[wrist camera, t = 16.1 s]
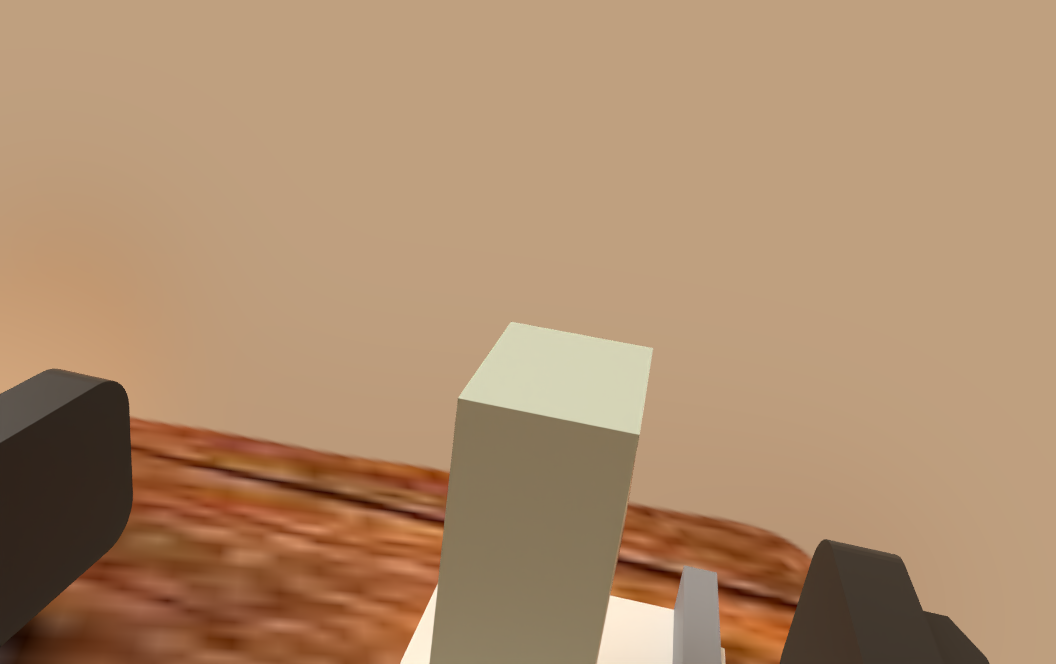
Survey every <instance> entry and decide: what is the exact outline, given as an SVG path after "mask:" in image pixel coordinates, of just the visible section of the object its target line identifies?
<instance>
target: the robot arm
mask: <svg viewBox="0 0 1056 664" xmlns="http://www.w3.org/2000/svg"><path fill="white" fill-rule="evenodd" d="M132 501H133V488H132V464H131V440H130V416H129V401H128V396H127V393H126V391H125V389H124V388H123V386H122V385H120V384H119V383H118V382H115V381H111V380H106V379H102V378H97V377H92V376H88V375H84V374H79V373H75V372H70V371H66V370H61V369H50V370H46V371H44V372H42V373H40V374H38V375H36V376H34V377H32V378H30V379H28V380H26V381H24V382H23V383H20V384H19V385H17V386H15V387H13V388H11V389H9V390H7V391H5V392H3V393H1V394H0V647H1V646H2V645H3V644H4V643H5V642H6V641H7V640H9V639H10V638H11V637H12V636H13V635H14V634H15V633H16V632H18V631H19V630H20V629H21V628H22V627H23V626H24V625H25V624H27V623H28V622H29V621H30V620H31V619H32V618H33V617H34V616H36V615H37V614H38V613H39V612H40V611H41V610H42V609H43V608H45V607H46V606H47V605H48V604H49V603H50V602H51V601H52V600H54V599H55V598H56V597H57V596H58V595H59V594H60V593H61V592H63V591H64V590H65V589H66V588H67V587H68V586H69V585H70V584H72V583H73V582H74V581H75V580H76V579H77V578H78V577H79V576H81V575H82V574H83V573H84V572H85V571H86V570H87V569H88V568H90V567H91V566H92V565H93V564H94V563H95V562H96V561H97V560H99V559H100V558H101V557H102V556H103V555H104V554H105V553H106V552H108V551H109V550H110V549H111V548H112V547H113V545H114V544H115V543H116V542H117V540H118V539H119V537H120V536H121V534H122V532H123V530H124V528H125V526H126V524H127V521H128V518H129V515H130V512H131V507H132ZM780 664H989V662H988V660H987V658H986V657H985V656H984V655H983V653H982V652H980V650H979V649H978V648H977V647H976V646H975V645H974V644H973V643H972V642H971V641H970V640H969V639H968V638H967V636H966V635H964V633H963V632H962V631H961V630H960V629H959V628H958V627H957V626H956V625H955V624H954V623H953V621H952V620H951V619H950V618H949V617H948V616H943V615H939V614H934V613H930V612H926V611H923V610H922V607H921V605H920V602H919V600H918V597H917V595H916V592H915V590H914V587H913V585H912V582H911V580H910V577H909V575H908V572H907V570H906V567H905V565H904V563H903V561H902V559H901V558H900V557H899V556H897V555H895V554H890V553H886V552H881V551H877V550H872V549H868V548H863V547H858V546H854V545H849V544H845V543H840V542H835V541H831V540H827V539H826V540H823V541H821V543H820V544H819V545H818V547H817V548H816V551H815V553H814V555H813V558H812V561H811V564H810V567H809V571H808V574H807V577H806V580H805V583H804V586H803V589H802V593H801V596H800V599H799V602H798V605H797V608H796V611H795V615H794V618H793V621H792V624H791V627H790V630H789V633H788V637H787V640H786V643H785V646H784V649H783V653H782V656H781V660H780Z"/></svg>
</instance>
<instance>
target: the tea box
mask: <svg viewBox="0 0 1056 664" xmlns="http://www.w3.org/2000/svg"><path fill="white" fill-rule="evenodd" d="M652 351H653V348H649V347H644V346H638V345H633V344H628V343H622V342H616V341H612V340H606V339H601V338H596V337H590V336H585V335H579V334H574V333H569V332H563V331H558V330H552V329H547V328H542V327H537V326H531V325H526V324H521V323H515V322H511V323H510V324H509V326H508V327H507V328H506V330H505V331H504V333H503V334H502V336H501V337H500V338H499V340H498V341H497V343H496V345H495V346H494V347H493V349H492V350H491V352H490V353H489V354H488V356H487V357H486V359H485V360H484V362H483V363H482V364H481V366H480V368H479V369H478V370H477V372H476V373H475V374H474V376H473V377H472V379H471V380H470V382H469V383H468V384H467V386H466V388H465V389H464V390H463V392H462V393H461V395H460V396H459V397H458V403H457V412H456V422H455V431H454V440H453V449H452V459H451V468H450V477H449V486H448V496H447V505H446V514H445V524H444V533H443V542H442V551H441V561H440V570H439V579H438V589H437V598H436V607H435V616H434V626H433V635H432V644H431V654H430V663H429V664H597V660H598V655H599V650H600V645H601V640H602V634H603V629H604V624H605V619H606V614H607V609H608V604H609V599H610V593H611V588H612V583H613V578H614V573H615V568H616V564H617V562H618V557H619V552H620V547H621V542H622V536H623V531H624V526H625V519H626V513H627V507H628V500H629V494H630V488H631V481H632V475H633V469H634V462H635V456H636V451H637V445H638V440H639V435H640V429H641V422H642V416H643V409H644V403H645V396H646V390H647V383H648V377H649V371H650V364H651V358H652Z"/></svg>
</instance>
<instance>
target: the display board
mask: <svg viewBox="0 0 1056 664" xmlns="http://www.w3.org/2000/svg"><path fill="white" fill-rule="evenodd" d="M437 589H438V584H437V587H436V589H435V591H434V593H433V595H432V597H431V599H430V601H429V604H428V606H427V608H426V610H425V612H424V614H423V616H422V618H421V621H420V623H419V625H418V627H417V629H416V631H415V633H414V635H413V637H412V640H411V642H410V644H409V646H408V648H407V650H406V652H405V654H404V657H403V659H402V661H401V663H400V664H429V663H430V654H431V644H432V635H433V626H434V616H435V607H436V598H437ZM597 664H725V648H721V643H720V624H719V605H718V585H717V573H716V572H711V571H707V570H702V569H697V568H693V567H688V566H684V568H683V573H682V577H681V582H680V586H679V590H678V595H677V599H676V603H675V608H674V610H672V609H668V608H663V607H659V606H654V605H650V604H645V603H641V602H636V601H632V600H627V599H623V598H619V597H614V596H610V599H609V604H608V609H607V614H606V619H605V624H604V629H603V634H602V640H601V645H600V650H599V655H598V660H597Z"/></svg>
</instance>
